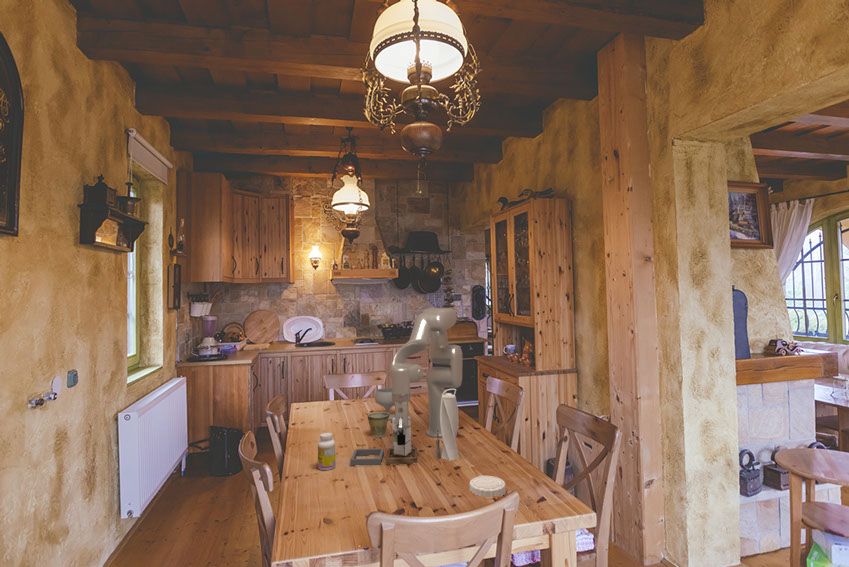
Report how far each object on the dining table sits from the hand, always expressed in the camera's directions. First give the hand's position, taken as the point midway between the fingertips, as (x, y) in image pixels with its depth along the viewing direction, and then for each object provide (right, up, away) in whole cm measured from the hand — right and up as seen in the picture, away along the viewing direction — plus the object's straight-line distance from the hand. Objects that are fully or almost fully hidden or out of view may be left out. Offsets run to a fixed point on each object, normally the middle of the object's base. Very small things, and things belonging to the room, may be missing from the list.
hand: (401, 441), depth 178 cm
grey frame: (-14, -8, 0) cm, 16 cm away
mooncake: (+30, -6, -31) cm, 44 cm away
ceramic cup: (-12, -9, +33) cm, 36 cm away
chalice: (-11, -10, +64) cm, 65 cm away
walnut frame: (0, -7, 0) cm, 7 cm away
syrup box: (0, -5, 0) cm, 5 cm away
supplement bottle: (-29, -8, -7) cm, 31 cm away
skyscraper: (+19, -7, -1) cm, 21 cm away
